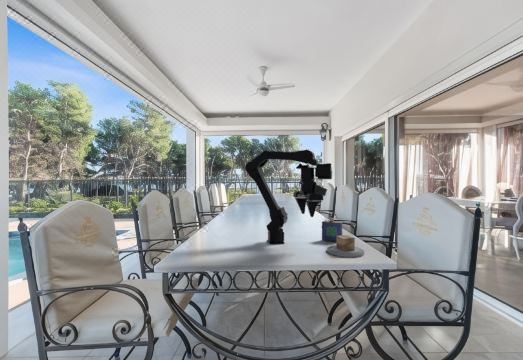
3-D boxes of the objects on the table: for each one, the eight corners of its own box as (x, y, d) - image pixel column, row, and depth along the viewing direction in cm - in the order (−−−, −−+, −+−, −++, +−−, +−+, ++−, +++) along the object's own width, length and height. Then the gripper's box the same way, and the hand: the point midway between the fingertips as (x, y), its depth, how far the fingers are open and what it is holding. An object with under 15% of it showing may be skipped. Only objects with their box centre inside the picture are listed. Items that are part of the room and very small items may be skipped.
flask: (342, 240, 131) (342, 217, 130) (342, 242, 128) (342, 218, 127) (321, 239, 133) (321, 216, 133) (321, 241, 130) (321, 218, 130)
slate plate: (338, 258, 104) (338, 255, 103) (321, 248, 117) (321, 246, 117) (371, 255, 107) (371, 252, 107) (351, 246, 121) (351, 243, 121)
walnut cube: (343, 251, 109) (343, 238, 109) (336, 248, 114) (336, 235, 114) (354, 250, 110) (354, 237, 110) (347, 247, 115) (347, 235, 115)
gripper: (335, 179, 115) (335, 217, 116) (315, 178, 133) (315, 211, 134) (309, 180, 112) (309, 219, 113) (292, 178, 130) (293, 212, 131)
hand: (307, 215), depth 123 cm, fingers open, 9 cm apart
